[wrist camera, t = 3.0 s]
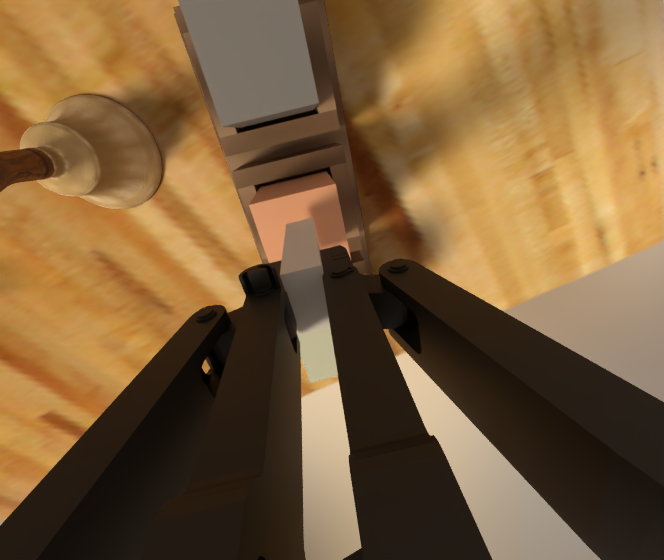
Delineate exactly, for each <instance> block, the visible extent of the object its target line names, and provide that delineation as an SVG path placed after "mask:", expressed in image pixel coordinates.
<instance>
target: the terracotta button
mask: <svg viewBox="0 0 664 560" xmlns="http://www.w3.org/2000/svg"><path fill="white" fill-rule="evenodd" d="M249 207H250V210H251V213H252V216H253V219H254V221H255V224H256V227H257V230H258V233H259V236H260V239H261V242H262V245H263V248H264V250H265V253H266V256H267V259H268V262H269V263H272V262H276V261H280V260H282V253H283V245H284V237H285V229H286V224H288V223H293V222H297V221H301V220H305V219H309V218H313V221H314V225H315V229H316V233H317V237H318V241H319V244H320V248H321V250H322V249H326V248H330V247H334V246H338V245H341V246H343V247H345V248H346V249H347V251H348V254H349V257H350V259H351V256H350V251H349V247H348V242H347V237H346V232H345V227H344V222H343V217H342V212H341V208H340V203H339V198H338V193H337V188H336V184H335V182H334V181H333V180H332V178H331V177H330V175H329V174H328V173H327V171H324V172H320V173H316V174H312V175H307V176H303V177H299V178H295V179H291V180H287V181H283V182H279V183H275V184H271V185H267V186H263V187H260V188H259V190H258V191H257V193H256V195H255V196H254V198H253V199H252V201H251V202H250V204H249Z"/></svg>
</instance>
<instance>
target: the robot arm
mask: <svg viewBox="0 0 664 560" xmlns="http://www.w3.org/2000/svg"><path fill="white" fill-rule="evenodd" d="M238 277H239V280H240V282H241V284H242V287H243V289H244V292H245V294H246V299H245V302H244V305H243V307H241V308H239V309H236V310H234V311H232V312H229V313H227V311H226V309H225V307H224V306H222V305H213V306H207V307H205V308H202V309H200V310H199V311H198V312H196V313H194V314H193V315H192V316H191V317H190V318H189V319H188V320H187V321H186V322H185V323H184V324H183V326H182V327H181V328H180V329H179V330H178V331H177V332H176V333H175V334H174V335H173V337H172V338H171V339H170V340H169V341H168V342H167V343H166V344H165V345H164V346H163V348H162V349H161V350H160V351H159V352H158V353H157V354H156V355H155V356H154V357H153V358H152V360H151V361H150V362H149V363H148V364H147V365H146V366H145V367H144V368H143V369H142V371H141V372H140V373H139V374H138V375H137V376H136V377H135V378H134V379H133V380H132V382H131V383H130V384H129V385H128V386H127V387H126V388H125V389H124V390H123V391H122V393H121V394H120V395H119V396H118V397H117V398H116V399H115V400H114V401H113V402H112V404H111V405H110V406H109V407H108V408H107V409H106V410H105V411H104V412H103V413H102V415H101V416H100V417H99V418H98V419H97V420H96V421H95V422H94V423H93V424H92V426H91V427H90V428H89V429H88V430H87V431H86V432H85V433H84V434H83V435H82V437H81V438H80V439H79V440H78V441H77V442H76V443H75V444H74V445H73V446H72V448H71V449H70V450H69V451H68V452H67V453H66V454H65V455H64V456H63V457H62V459H61V460H60V461H59V462H58V463H57V464H56V465H55V466H54V467H53V468H52V470H51V471H50V472H49V473H48V474H47V475H46V476H45V477H44V478H43V479H42V481H41V482H40V483H39V484H38V485H37V486H36V487H35V488H34V489H33V490H32V492H31V493H30V494H29V495H28V496H27V497H26V498H25V499H24V500H23V501H22V503H21V504H20V505H19V506H18V507H17V508H16V509H15V510H14V511H13V512H12V514H11V515H10V516H9V517H8V518H7V519H6V520H5V521H4V522H3V524H2V525H1V526H0V560H306V559H305V552H304V541H303V540H304V539H303V479H302V422H301V361H300V341H299V338H298V335H297V328H298V331H299V334H300V336H301V335H305V334H309V333H313V332H318V331H322V330H326V329H331V335H332V341H333V347H334V354H335V360H336V366H337V372H338V378H339V384H340V391H341V397H342V403H343V409H344V415H345V421H346V428H347V433H348V440H349V447H350V455H349V466H350V473H351V480H352V487H353V494H354V500H355V507H356V512H357V520H358V526H359V533H360V540H361V546H362V548H361V549H359V550H358V551H356V552H354V553H353V554H351V555H349V556H348V557H346V558H344V559H343V560H492V558H491V556H490V554H489V551H488V549H487V547H486V545H485V543H484V540H483V538H482V536H481V534H480V531H479V529H478V527H477V525H476V523H475V520H474V518H473V516H472V514H471V511H470V509H469V507H468V505H467V503H466V500H465V498H464V496H463V494H462V491H461V490H460V487H459V485H458V483H457V480H456V478H455V476H454V474H453V472H452V469H451V467H450V465H449V463H448V460H447V458H446V456H445V454H444V452H443V450H442V448H441V446H440V444H439V442H438V441H437V439H436V438H435V436H434V435H433V436H430V435H429V434H428V432H427V430H426V428H425V426H424V424H423V421H422V419H421V417H420V414H419V412H418V410H417V407H416V405H415V403H414V401H413V398H412V396H411V393H410V391H409V388H408V386H407V384H406V381H405V379H404V377H403V374H402V372H401V370H400V367H399V365H398V363H397V360H396V358H395V356H394V353H393V351H392V349H391V346H390V344H389V342H388V339H387V337H386V335H385V332H384V330H383V329H388V330H389V333H390V335H391V336H392V337H393V338H394V339H395V340H396V341H397V343H398V344H399V345H400V346H401V347H402V348H403V349H404V350H405V351H406V352H407V353H408V354H409V355H410V356H411V357H412V358H413V360H414V361H415V362H416V363H417V364H418V365H419V366H420V367H421V368H422V369H423V370H424V371H425V372H426V374H427V375H428V376H429V377H430V378H431V379H432V380H433V381H434V382H435V383H436V384H437V385H438V386H439V387H440V389H441V390H442V391H443V392H444V393H445V394H446V395H447V396H448V397H449V398H450V399H451V400H452V401H453V402H454V403H455V405H456V406H457V407H458V408H459V409H460V410H461V411H462V412H463V413H464V414H465V415H466V416H467V417H468V419H469V420H470V421H471V422H472V423H473V424H474V425H475V426H476V427H477V428H478V429H479V430H480V431H481V432H482V434H484V436H485V437H486V438H487V439H488V440H489V441H490V442H491V443H492V444H493V445H494V446H495V447H496V448H497V449H498V450H499V452H500V453H501V454H502V455H503V456H504V457H505V458H506V459H507V460H508V461H509V462H510V463H511V464H512V466H513V467H514V468H515V469H516V470H517V471H518V472H519V473H520V474H521V475H522V476H523V477H524V478H525V480H526V481H527V482H528V483H529V484H530V485H531V486H532V487H533V488H534V489H535V490H536V491H537V492H538V493H539V494H540V496H541V497H542V498H543V499H544V500H545V501H546V502H547V503H548V504H549V505H550V506H551V507H552V508H553V509H554V511H555V512H556V513H557V514H558V515H559V516H560V517H561V518H562V519H563V520H564V521H565V522H566V523H567V524H568V525H569V527H570V528H571V529H572V530H573V531H574V532H575V533H576V534H577V535H578V536H579V537H580V538H581V539H582V541H583V542H584V543H585V544H586V545H587V546H588V547H589V548H590V549H591V550H592V551H593V552H594V553H595V554H596V555H597V556H598V557H599V558H600V559H601V560H664V402H662V401H660V400H658V399H657V398H655V397H653V396H652V395H650V394H648V393H646V392H645V391H643V390H641V389H639V388H638V387H636V386H634V385H632V384H630V383H629V382H627V381H625V380H623V379H622V378H620V377H618V376H616V375H614V374H613V373H611V372H609V371H607V370H606V369H604V368H602V367H600V366H598V365H597V364H595V363H593V362H591V361H590V360H588V359H586V358H584V357H583V356H581V355H579V354H577V353H576V352H574V351H572V350H570V349H568V348H567V347H565V346H563V345H561V344H560V343H558V342H556V341H554V340H553V339H551V338H549V337H547V336H545V335H544V334H542V333H540V332H538V331H536V330H535V329H533V328H531V327H530V326H528V325H526V324H524V323H522V322H521V321H518V320H517V319H515V318H514V317H512V316H510V315H508V314H507V313H504V312H503V311H501V310H499V309H498V308H496V307H494V306H492V305H491V304H489V303H487V302H485V301H484V300H482V299H480V298H478V297H476V296H475V295H473V294H471V293H469V292H468V291H466V290H464V289H462V288H461V287H459V286H457V285H455V284H453V283H452V282H450V281H448V280H446V279H445V278H443V277H441V276H439V275H438V274H436V273H434V272H432V271H430V270H429V269H427V268H425V267H423V266H422V265H420V264H418V263H416V262H414V261H411V260H405V259H399V260H398V259H395V260H393V261H390V262H387V263H385V264H383V265H382V266H381V267H380V269H379V275H363V274H360V273H359V271H358V269H357V268H356V267H355V266H353V264H352V261H351V259H350V257H349V254H348V251H347V249H346V248H345V247H343V246H341V245H338V246H334V247H330V248H326V249H322V250H321V248H320V244H319V241H318V237H317V233H316V229H315V225H314V221H313V218H309V219H305V220H301V221H297V222H293V223H288V224H286V229H285V237H284V245H283V253H282V260H280V261H276V262H272V263H268V264H259V265H256V266H253V267H250V268H248V269H246V270H244V271H243V272H242V273H241V274H240V275H239V276H238ZM205 359H206V361H207V363H208V365H209V367H210V370H209V371H208V373H207V374H206V373H205V372H204V371H203V369H202V365H203V362H204V360H205Z"/></svg>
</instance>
